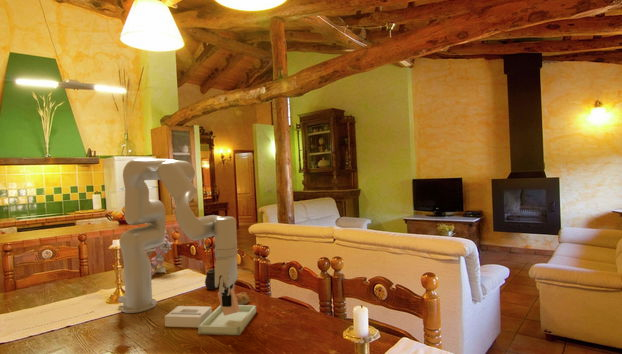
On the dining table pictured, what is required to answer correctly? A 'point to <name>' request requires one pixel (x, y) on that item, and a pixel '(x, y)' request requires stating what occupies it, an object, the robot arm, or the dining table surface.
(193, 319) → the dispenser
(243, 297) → the pastry
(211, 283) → the mate gourd
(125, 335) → the dining table surface
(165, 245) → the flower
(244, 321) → the tray
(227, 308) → the tan flat block
